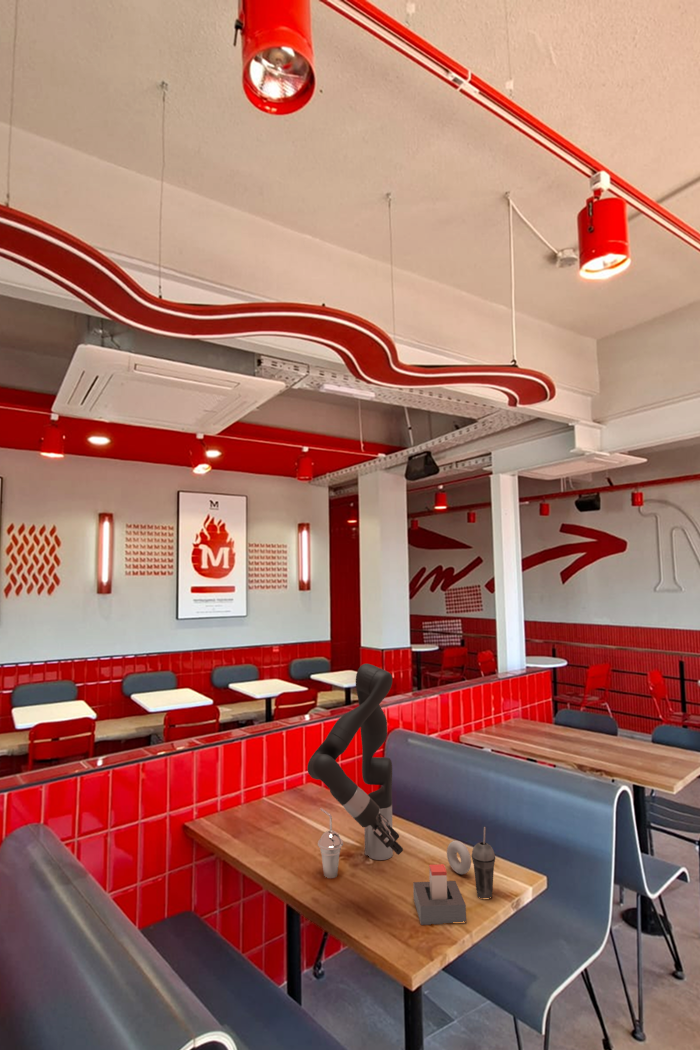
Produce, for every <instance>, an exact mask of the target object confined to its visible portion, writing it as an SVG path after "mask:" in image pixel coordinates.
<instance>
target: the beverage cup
mask: <svg viewBox="0 0 700 1050" xmlns="http://www.w3.org/2000/svg"><path fill="white" fill-rule="evenodd" d="M471 858H472V859H471V861H472V864H473V871H474V872H473V873H474V881H475V891H476V896H477V897H478V898H479V897H480V898H490V897H493V889H494V870H495V869H494V867H495V862H496V855H495V851H494V848H493V847H492V845H490V844H489V843H487V842H486V826H483V841H480V842H477V843H476V844H475V845H474V846H473V848H472V851H471ZM480 898H479V899H480Z"/></svg>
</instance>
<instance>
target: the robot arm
mask: <svg viewBox="0 0 700 1050" xmlns="http://www.w3.org/2000/svg"><path fill="white" fill-rule="evenodd" d="M392 685H393V675H392V674H391V673H390V672H389V671H387V670H384V669H383V668H381V667H378V666H375V664H374V665H373V664H370V663H363V664H361V665H360V666H359V668H357V672H356V675H355V690H356V695H357V700H358V706H356V707H355V708H352V709H351V710H350V711H347V712H346V713H345V714H343V715H342V716H341V717H339V718H338V719H337V721H336V722H335V723H334V725H333V726H332V728H331V729H330V731H329V732H328V734H327V736H326V738H325V739H324V741H322V743H321V744H320V745H319V746H318V747H317V749H315V752H313V754H312V755H311V757H310V758H309V760H308V761H307V762H308V763H307V767H306V768H307V773H308V775H309V776H310V777H311V778H312V779H314V780H317V781H318V780H320V781H321V782H322V783H323V784H325V786H326V787H327V788H328V789H329V792H330V794H331V796H333V798H334V799H335V800H336V801H337V802H338V803H339V804H340V805H341V806H342V807H343V808H344V810H345V811H346V812H347V813H348V814H349V815H350V816H351V817H352V818H353V819H354V820H355V821H356V823H358V825H359V826H361V827H362V828H364V855H365V856H367V855H368V856H369V857H368V856H367V857H368V858H370V859H372V860H377V861H385V860H389V859H390V858H392V857H393V855H394V853H396V855H398V856H399V855H400V854H401V853H402V852H403V851H404V848H403V846H401V845H400V844H399V843H398V842H397V841H398V839H400V834H399V833H398V831H396V830H395V829H394V828H393V787H392V785H393V763H392V762H393V761H392V760H391V758H390V757H386V756H385V757H383V756H382V757H380V756H378V757H376V756H374V755H375V754H376V752H377V751H378V750H380V748H381V747H382V746H383V744H384V743H385V742H386V740H387V736H388V722H387V721H388V720H387V717H386V714H385V712H384V710H383V708H382V706H381V705H380V704H381V703H382V702H383V700H385V697H387V695H388V694H389V692H390V690H391V688H392ZM358 731H360V736H361V737H360V739H361V746H362V747H361V749H362V754H361V773H362V774H361V775H362V776H361V777H362V779H363V780H362V781H363V782H364V784H366V785H370V786H381V787H380V788H378V789H377V790H374V791H372V792H369V793H367V792H365V791H364V790H363V789H362V788H361V787H359V786H358V785H357V784H356V783H355V781H353V780H352V779H351V778H350V777H349V776H348V775H347V774H346V773H345V771H344V770H343V768H342V767H341V766H340V764H339V763H338V762H337V759H338V758H339V757H340V756H341V755H342V754H343V753H345V752H346V750H347V748H348V747H349V745H350V743H351V742H352V740H353V739H354V737H355V736H356V734H357V733H358ZM393 851H394V852H393Z"/></svg>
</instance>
